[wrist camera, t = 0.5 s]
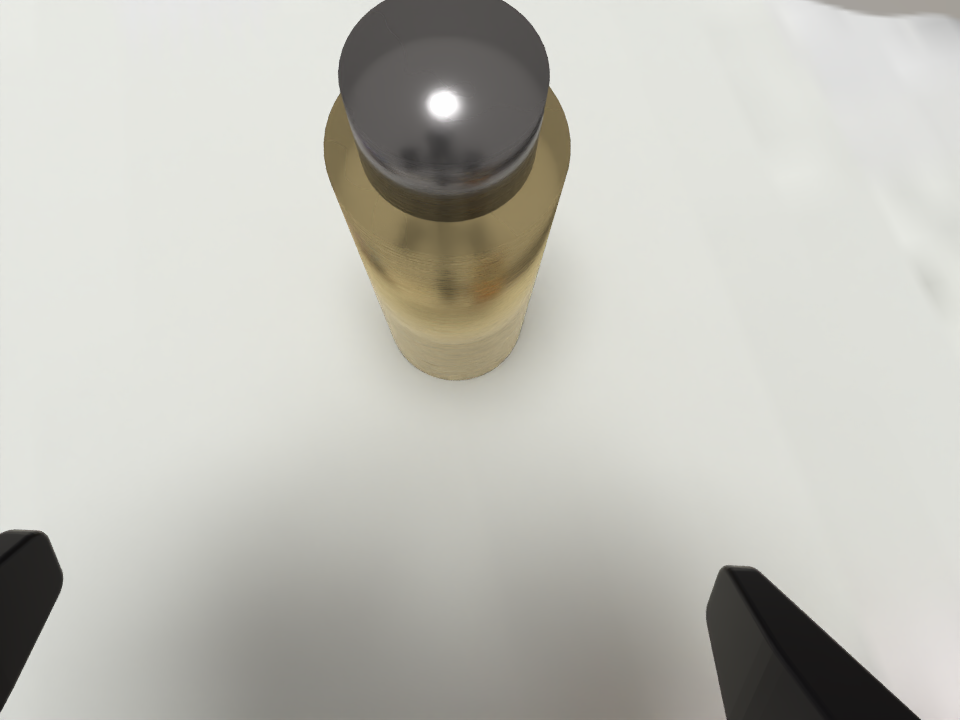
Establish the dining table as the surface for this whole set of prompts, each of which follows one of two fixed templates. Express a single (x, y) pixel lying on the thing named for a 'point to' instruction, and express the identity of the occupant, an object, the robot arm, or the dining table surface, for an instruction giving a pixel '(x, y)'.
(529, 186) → the gold two-tone capped cylinder
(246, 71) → the dining table surface
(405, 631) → the dining table surface
